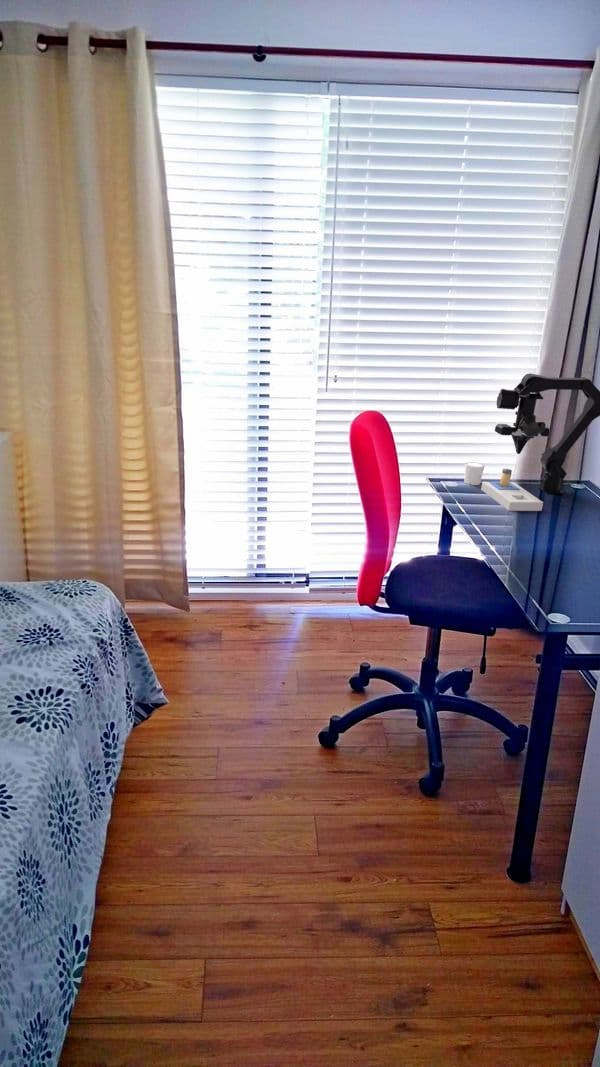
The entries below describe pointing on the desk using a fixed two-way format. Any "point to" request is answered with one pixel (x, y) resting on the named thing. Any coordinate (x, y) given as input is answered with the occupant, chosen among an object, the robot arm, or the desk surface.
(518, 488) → the block
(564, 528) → the desk surface
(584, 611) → the desk surface
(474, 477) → the white cylinder
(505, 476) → the grey-capped tan cylinder
